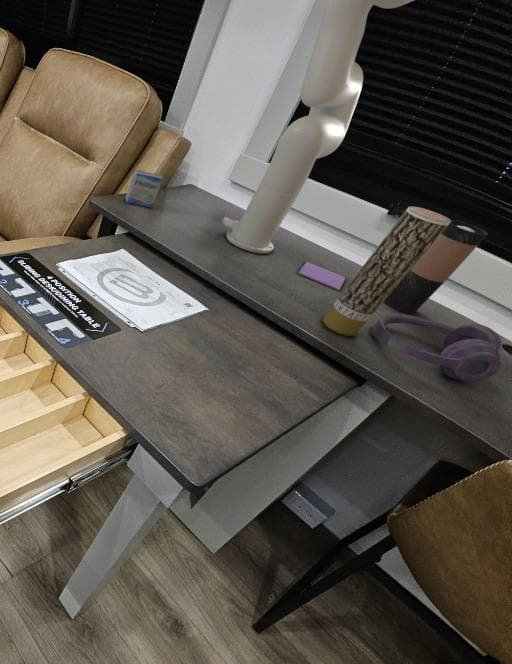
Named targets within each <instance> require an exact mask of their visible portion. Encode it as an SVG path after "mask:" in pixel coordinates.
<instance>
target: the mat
mask: <svg viewBox="0 0 512 664" xmlns="http://www.w3.org/2000/svg"><path fill="white" fill-rule="evenodd" d="M297 275H300V276H302V277H305V278H307V279H309V280H311V281H313V282H316V283H318V284H321V285H324V286H326V287H328V288H330V289H333V290H335V291H338V292H340V290H341V288H342V286H343V284H344V282H345V280H346V277H345V276H343V275H340V274H338V273H335V272H333V271H331V270H328V269H325V268H323V267H322V266H319V265H316V264H313V263H311V262H309V261H306V262H305V263H304V264H303V265H302V267H301V269H299V271H298V273H297Z"/></svg>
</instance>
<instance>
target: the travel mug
mask: <svg viewBox="0 0 512 664" xmlns="http://www.w3.org/2000/svg"><path fill="white" fill-rule="evenodd" d="M450 220H451V222H450V223H449V225H448V226H447V227H446V229H445V230H444V231H443V232H442V233H441V234H440V236H439V237H438V238H437V239H436V240H435V242H434V243H433V244H432V245H431V246H430V247H429V249H428V250H427V251H426V252H425V253H424V254H423V256H422V257H421V258H420V259H419V260H418V262H417V263H416V264H415V265H414V266H413V267H412V269H411V270H410V271H409V272H408V273H407V275H406V276H405V277H404V278H403V279H402V280H401V282H400V283H399V284H398V285H397V286H396V288H395V289H394V290H393V291H392V292H391V293H390V295H389V296H388V297H387V298H386V299H385V300H384V303H385V304H386V305H388V306H389V307H391V308H393V309H395V310H397V311H400V312H403V313H406V314H415V312H417V311H418V310H420V308H421V307H422V306H423V305H424V304H425V303H426V302H427V301H428V300H429V299H430V298H431V297H432V296H433V295H434V294H435V293H436V291H438V289H439V288H441V286H443V284H444V283H445V282H446V281H447V280H448V279H449V278H450V277H451V276H452V275H453V274H454V272H455V271H456V270H457V269H458V268H459V267H460V266H461V265H462V264H463V263H464V261H466V259H468V257H469V256H470V255H471V254H472V253H473V251H474V250H475V249H477V247H478V246H479V245H480V244H481V243H482V242H483V240H484V239H485V238H487V236H488V232H487V231H485V229H482V228H481V227H478V226H476V225H474V224H471V223H467V222H465V221H461V220H456V219H450Z"/></svg>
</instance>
